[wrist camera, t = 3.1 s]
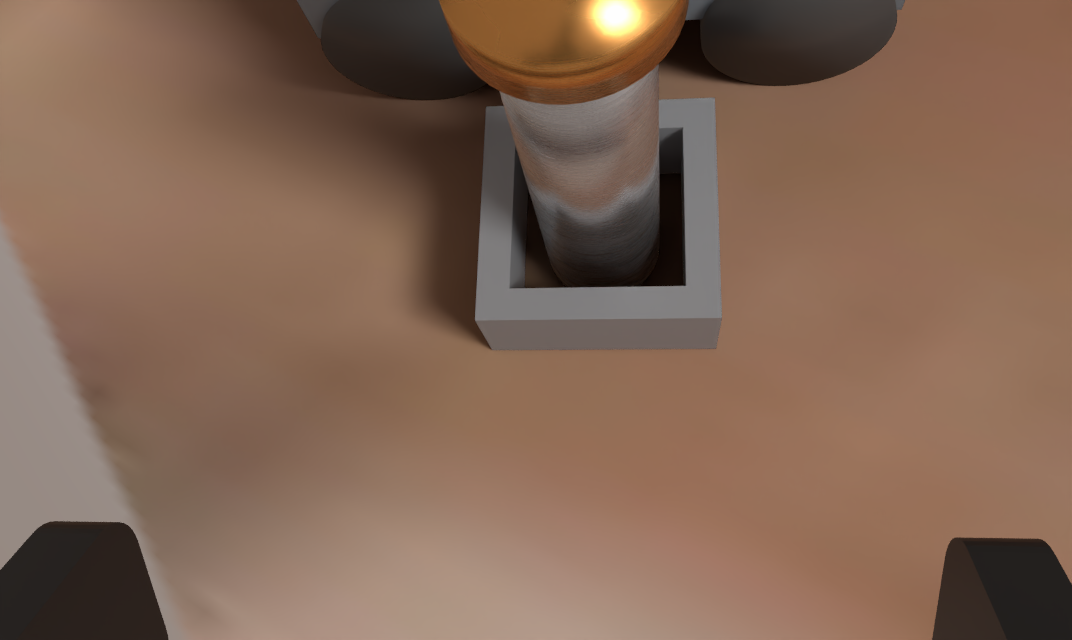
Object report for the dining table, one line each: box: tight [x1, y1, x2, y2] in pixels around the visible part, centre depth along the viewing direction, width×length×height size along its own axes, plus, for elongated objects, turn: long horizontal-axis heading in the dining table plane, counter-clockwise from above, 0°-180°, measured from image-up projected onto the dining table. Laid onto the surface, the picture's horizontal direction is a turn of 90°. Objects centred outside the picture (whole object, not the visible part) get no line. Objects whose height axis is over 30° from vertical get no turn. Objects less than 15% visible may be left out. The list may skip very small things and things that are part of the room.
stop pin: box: [439, 0, 689, 288], centre depth 20 cm, size 4×4×12 cm
